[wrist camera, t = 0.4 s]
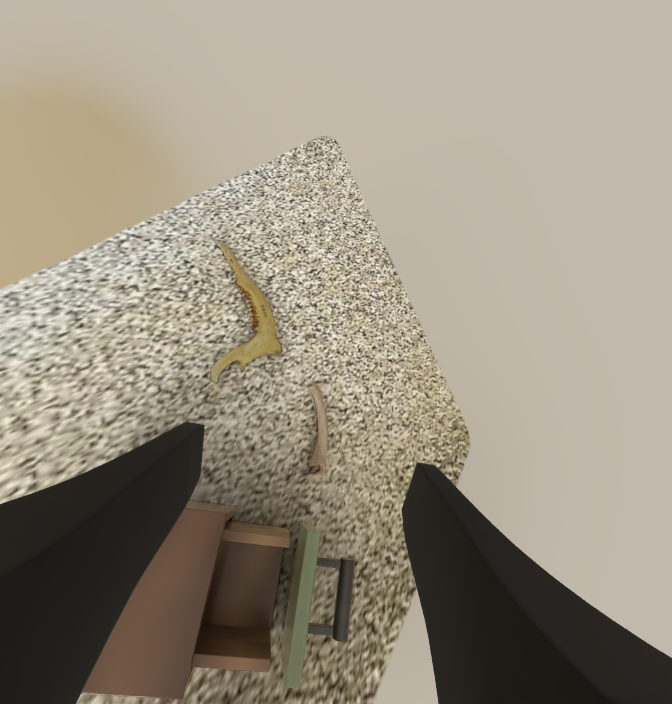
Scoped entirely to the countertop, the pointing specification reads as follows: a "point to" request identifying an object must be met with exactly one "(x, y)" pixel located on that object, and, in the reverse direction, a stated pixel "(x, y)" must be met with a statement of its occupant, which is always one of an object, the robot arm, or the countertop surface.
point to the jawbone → (259, 321)
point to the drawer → (266, 600)
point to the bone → (319, 438)
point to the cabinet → (164, 612)
